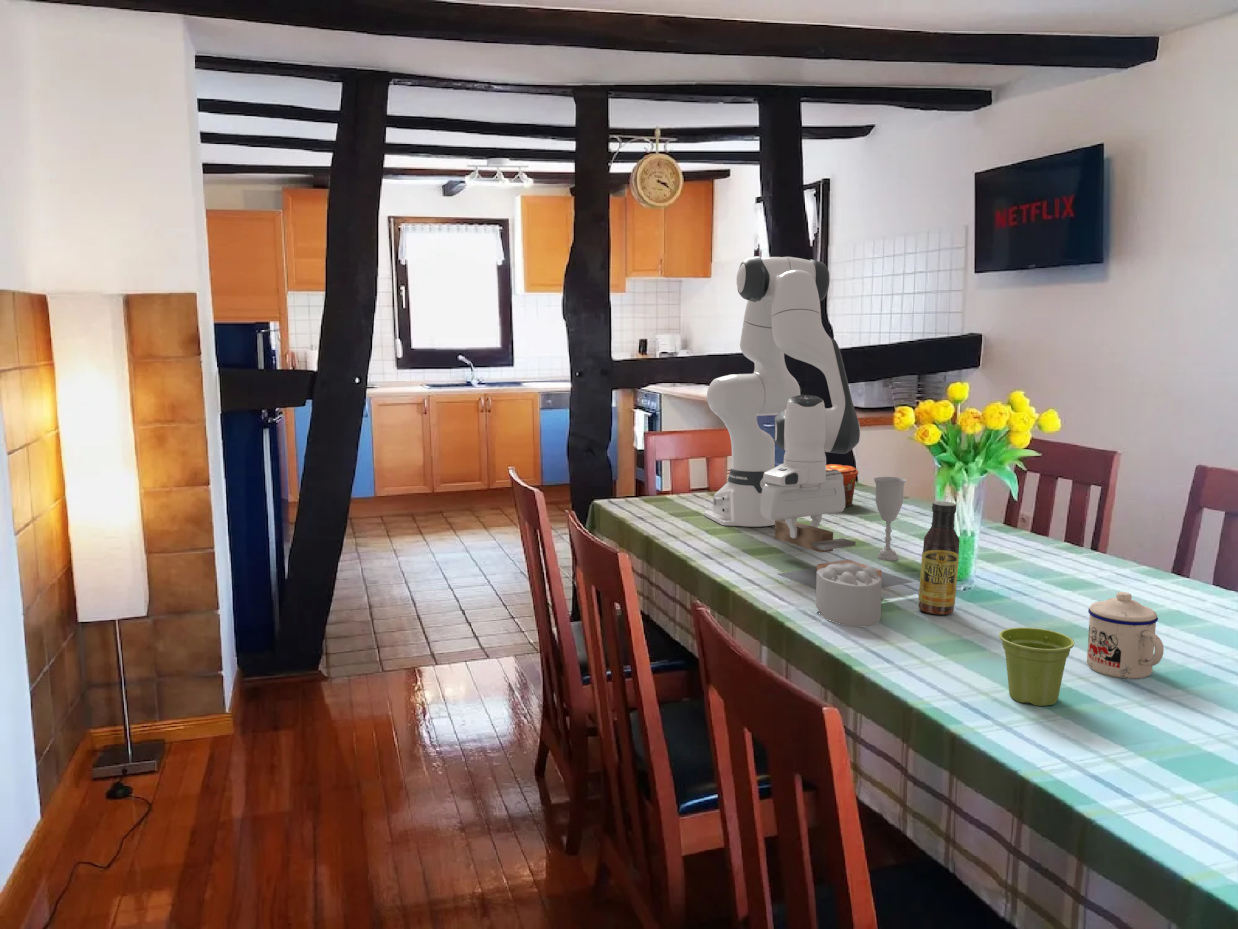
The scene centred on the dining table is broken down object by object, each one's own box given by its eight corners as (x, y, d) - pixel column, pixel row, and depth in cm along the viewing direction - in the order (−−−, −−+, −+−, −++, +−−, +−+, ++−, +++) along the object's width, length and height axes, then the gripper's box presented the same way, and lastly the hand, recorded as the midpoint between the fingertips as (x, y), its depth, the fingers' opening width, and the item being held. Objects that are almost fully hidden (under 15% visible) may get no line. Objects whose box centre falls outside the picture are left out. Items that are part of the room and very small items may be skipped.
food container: (789, 502, 271) (790, 466, 269) (832, 497, 278) (833, 462, 277) (825, 512, 257) (825, 473, 255) (869, 506, 264) (870, 469, 263)
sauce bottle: (918, 615, 165) (922, 505, 162) (917, 605, 171) (921, 499, 168) (957, 617, 163) (962, 507, 160) (955, 607, 169) (959, 500, 166)
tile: (816, 564, 189) (850, 575, 180) (847, 559, 192) (881, 570, 184) (816, 576, 189) (849, 588, 180) (847, 571, 193) (881, 582, 184)
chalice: (905, 565, 199) (908, 482, 197) (872, 564, 201) (874, 481, 198) (901, 557, 206) (904, 477, 204) (870, 555, 208) (872, 476, 205)
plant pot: (982, 688, 132) (984, 629, 130) (1039, 682, 134) (1043, 624, 133) (1024, 715, 123) (1028, 652, 121) (1086, 707, 125) (1090, 646, 123)
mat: (776, 576, 191) (776, 573, 191) (852, 564, 200) (852, 561, 200) (834, 598, 175) (834, 595, 175) (913, 584, 184) (913, 581, 184)
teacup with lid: (1071, 661, 142) (1075, 587, 140) (1121, 655, 144) (1126, 582, 142) (1131, 690, 130) (1137, 610, 129) (1185, 684, 132) (1191, 605, 131)
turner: (765, 539, 204) (765, 521, 204) (794, 535, 208) (794, 517, 207) (824, 558, 187) (824, 538, 186) (855, 553, 190) (855, 534, 190)
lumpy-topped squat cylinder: (864, 603, 173) (865, 558, 171) (892, 625, 160) (893, 576, 159) (810, 606, 172) (811, 560, 170) (833, 628, 159) (834, 579, 157)
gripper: (833, 466, 204) (831, 528, 206) (756, 474, 195) (756, 538, 197) (852, 470, 198) (851, 533, 201) (774, 478, 189) (773, 544, 191)
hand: (803, 536), depth 199 cm, fingers closed on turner, 3 cm apart
